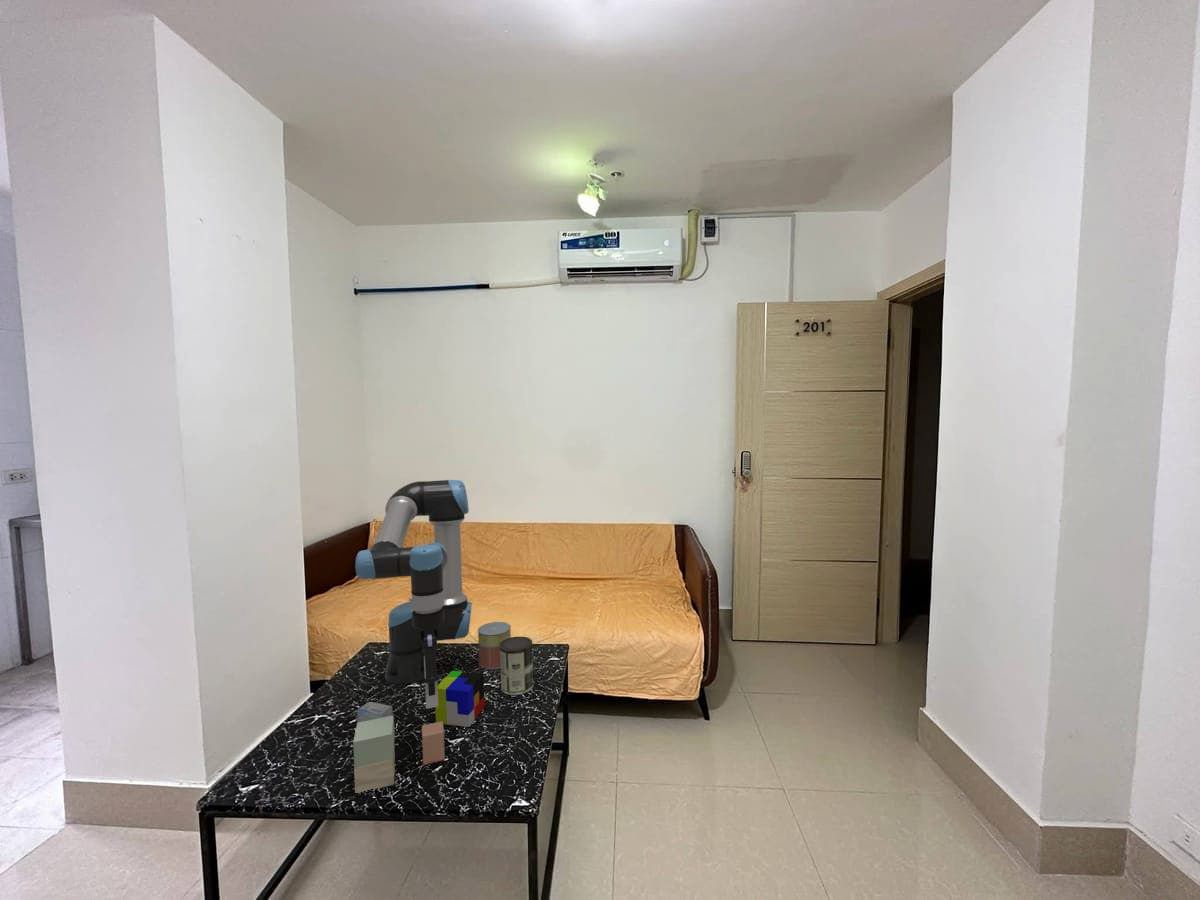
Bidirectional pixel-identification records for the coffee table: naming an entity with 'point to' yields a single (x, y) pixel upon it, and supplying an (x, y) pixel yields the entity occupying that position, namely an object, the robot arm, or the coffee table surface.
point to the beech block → (374, 775)
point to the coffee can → (516, 665)
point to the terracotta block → (433, 742)
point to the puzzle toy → (460, 698)
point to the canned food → (492, 643)
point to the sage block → (374, 741)
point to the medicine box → (373, 711)
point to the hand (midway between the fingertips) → (431, 693)
